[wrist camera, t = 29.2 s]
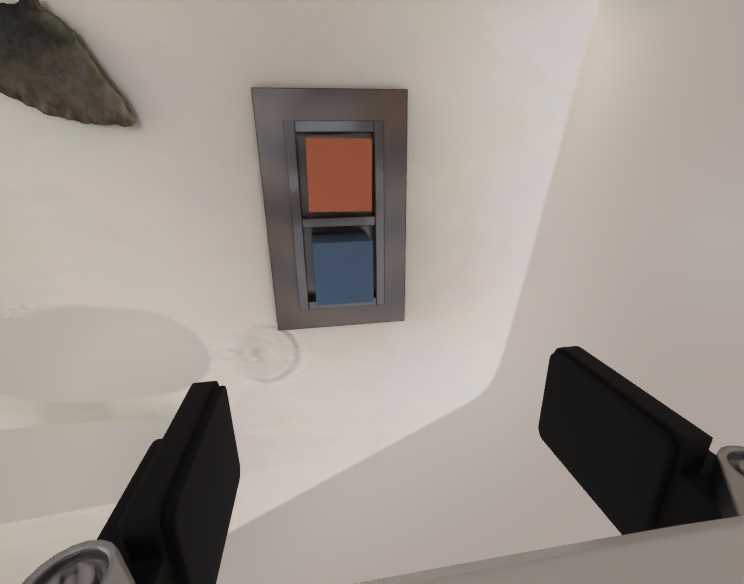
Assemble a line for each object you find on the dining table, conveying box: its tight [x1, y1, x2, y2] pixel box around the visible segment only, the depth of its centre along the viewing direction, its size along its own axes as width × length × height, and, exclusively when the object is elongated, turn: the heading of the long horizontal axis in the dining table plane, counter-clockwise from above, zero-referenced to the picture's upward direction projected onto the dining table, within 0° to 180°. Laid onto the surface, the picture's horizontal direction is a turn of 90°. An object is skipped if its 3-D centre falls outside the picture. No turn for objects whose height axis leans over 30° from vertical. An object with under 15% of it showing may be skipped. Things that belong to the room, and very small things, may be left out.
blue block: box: [312, 231, 374, 306], centre depth 31 cm, size 5×5×4 cm
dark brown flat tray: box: [251, 87, 408, 330], centre depth 31 cm, size 20×12×2 cm, turn 2°
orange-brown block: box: [305, 138, 372, 212], centre depth 28 cm, size 5×5×4 cm
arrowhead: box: [0, 0, 136, 127], centre depth 25 cm, size 7×10×1 cm
